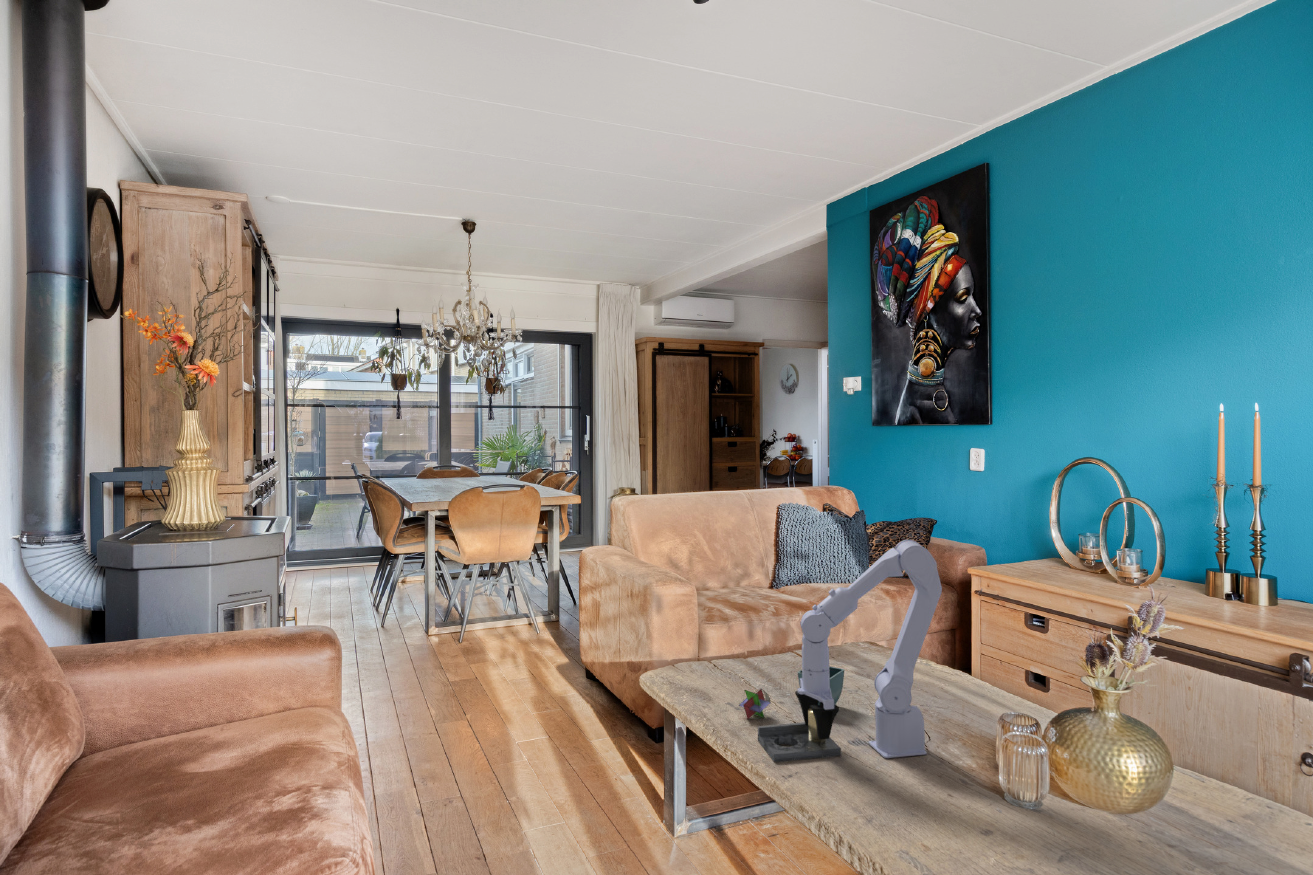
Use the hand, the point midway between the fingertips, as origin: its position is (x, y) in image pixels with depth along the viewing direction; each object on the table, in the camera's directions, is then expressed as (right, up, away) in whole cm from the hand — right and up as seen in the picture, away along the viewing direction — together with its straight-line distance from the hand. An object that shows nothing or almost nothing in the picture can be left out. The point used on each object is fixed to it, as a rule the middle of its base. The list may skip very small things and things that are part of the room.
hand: (816, 731), depth 159 cm
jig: (-4, -3, -1) cm, 5 cm away
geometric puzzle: (-11, -4, +17) cm, 21 cm away
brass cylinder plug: (0, -2, 0) cm, 2 cm away
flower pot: (+6, -3, +23) cm, 24 cm away
